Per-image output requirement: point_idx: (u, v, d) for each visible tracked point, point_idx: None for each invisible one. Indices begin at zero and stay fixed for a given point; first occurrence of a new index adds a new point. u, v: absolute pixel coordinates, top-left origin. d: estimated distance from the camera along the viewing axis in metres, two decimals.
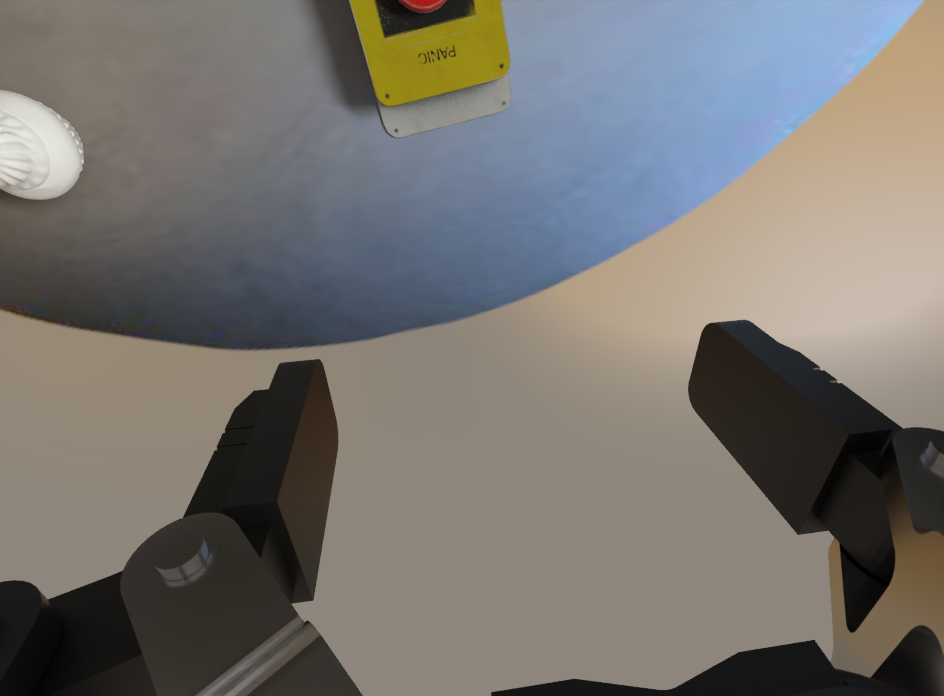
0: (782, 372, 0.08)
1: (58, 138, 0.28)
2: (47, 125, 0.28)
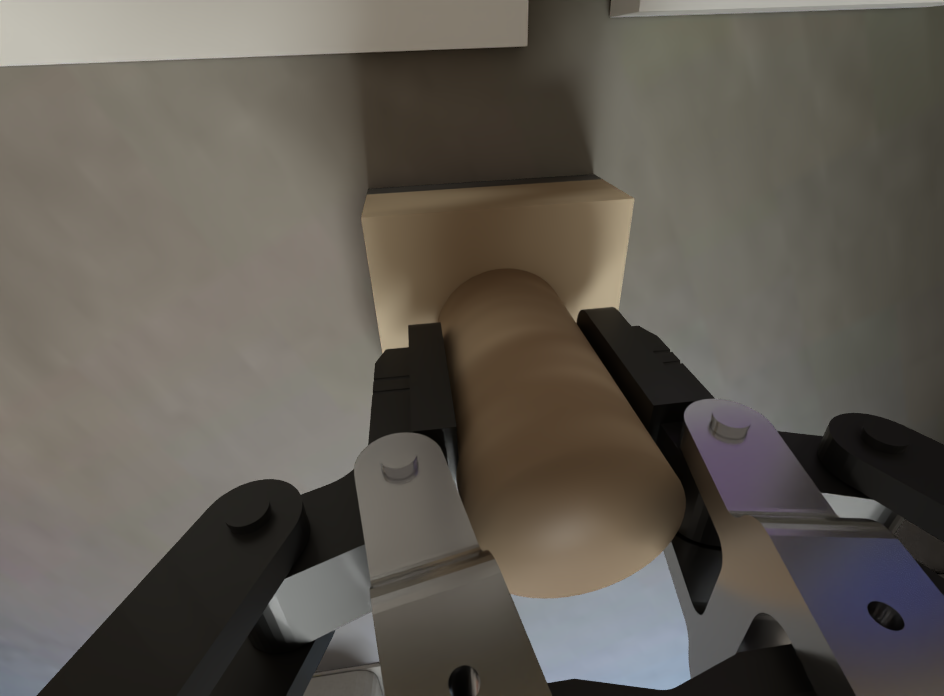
0: (622, 353, 0.09)
1: None
2: None
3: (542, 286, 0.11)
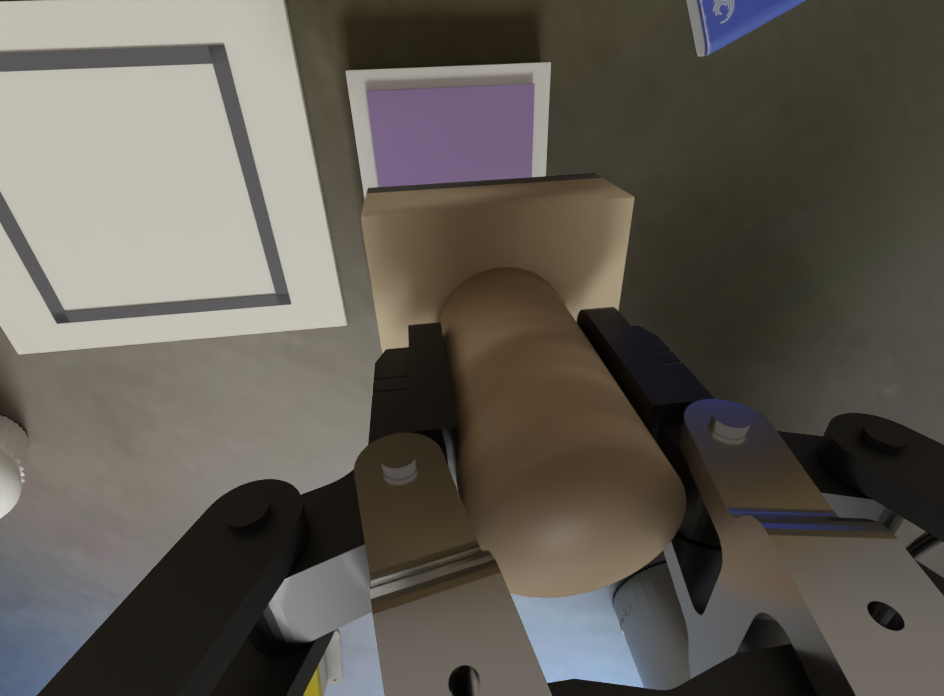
0: (622, 352, 0.09)
1: None
2: None
3: (542, 285, 0.11)
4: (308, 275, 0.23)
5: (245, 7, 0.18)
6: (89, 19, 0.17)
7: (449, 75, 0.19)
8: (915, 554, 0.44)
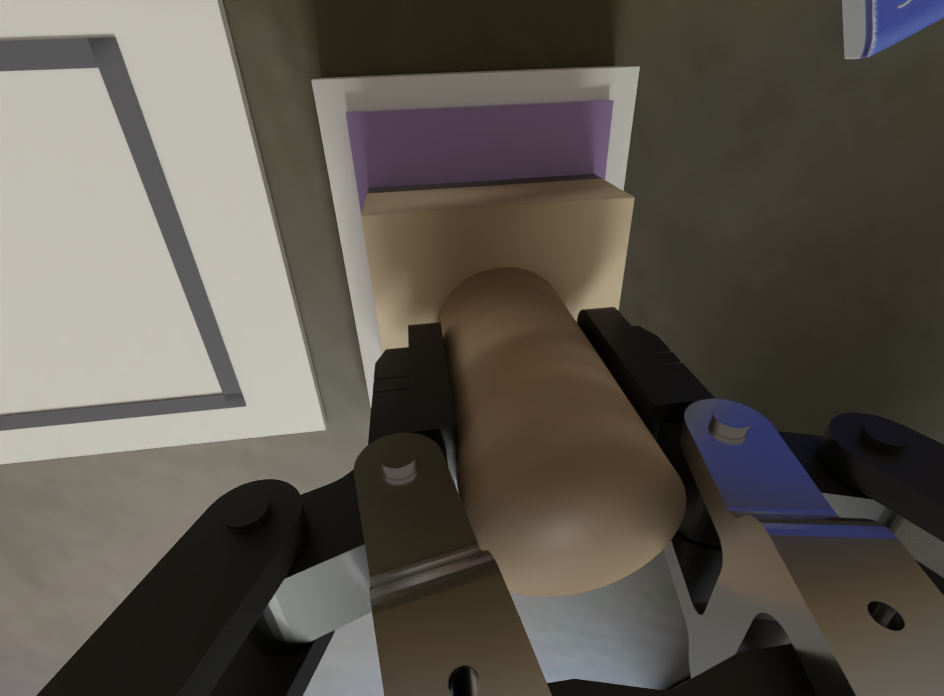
0: (622, 353, 0.09)
1: None
2: None
3: (542, 285, 0.11)
4: (268, 369, 0.16)
5: None
6: None
7: (479, 87, 0.12)
8: None
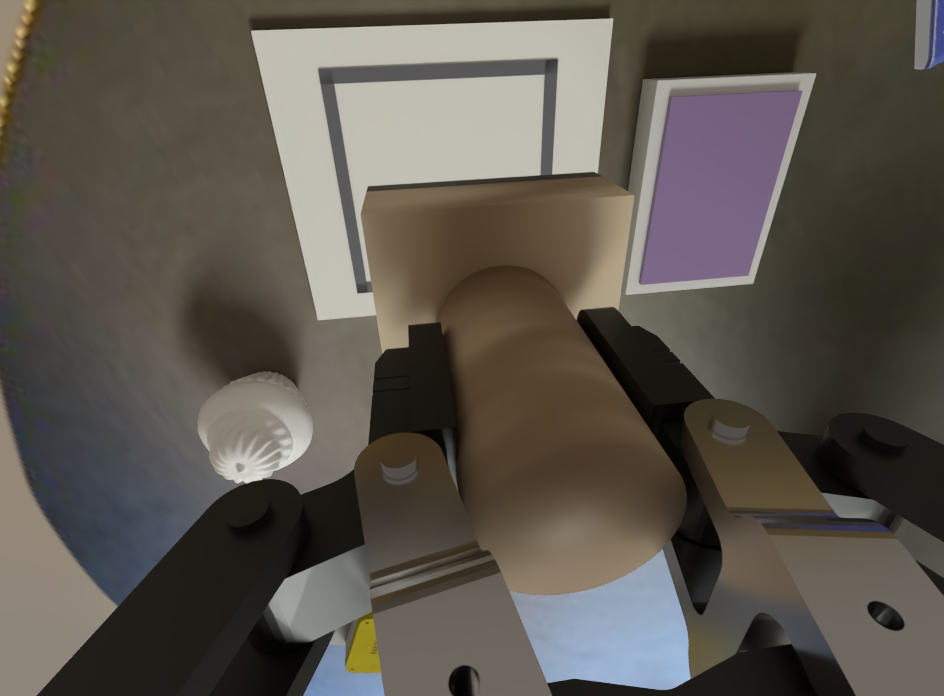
0: (622, 353, 0.09)
1: None
2: (285, 465, 0.28)
3: (542, 283, 0.11)
4: None
5: (582, 29, 0.22)
6: (462, 39, 0.21)
7: (735, 84, 0.23)
8: None
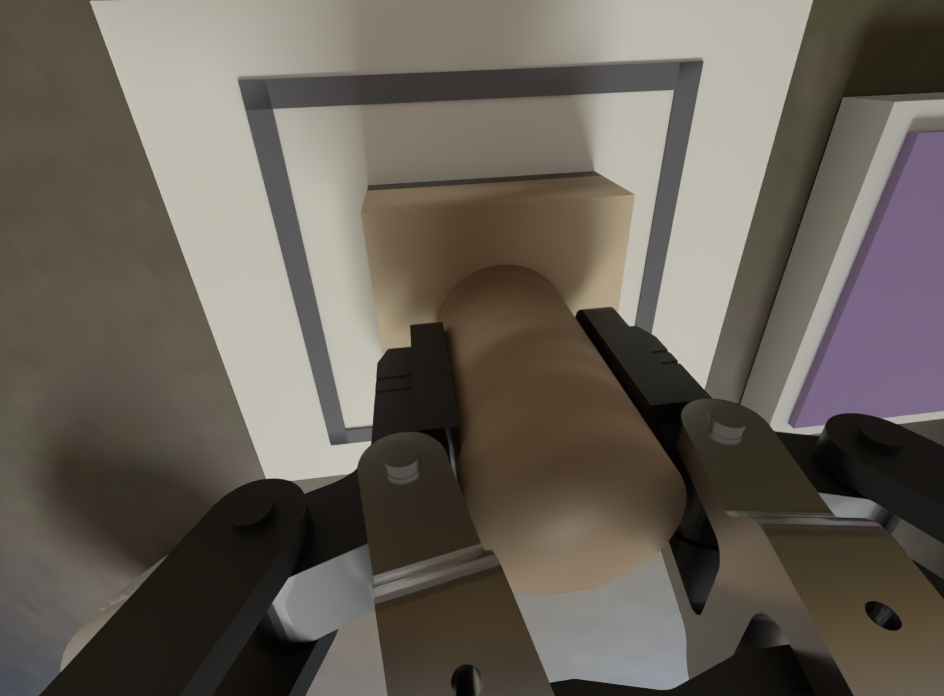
0: (620, 353, 0.09)
1: None
2: None
3: (542, 282, 0.11)
4: None
5: (756, 3, 0.11)
6: (525, 21, 0.11)
7: None
8: None
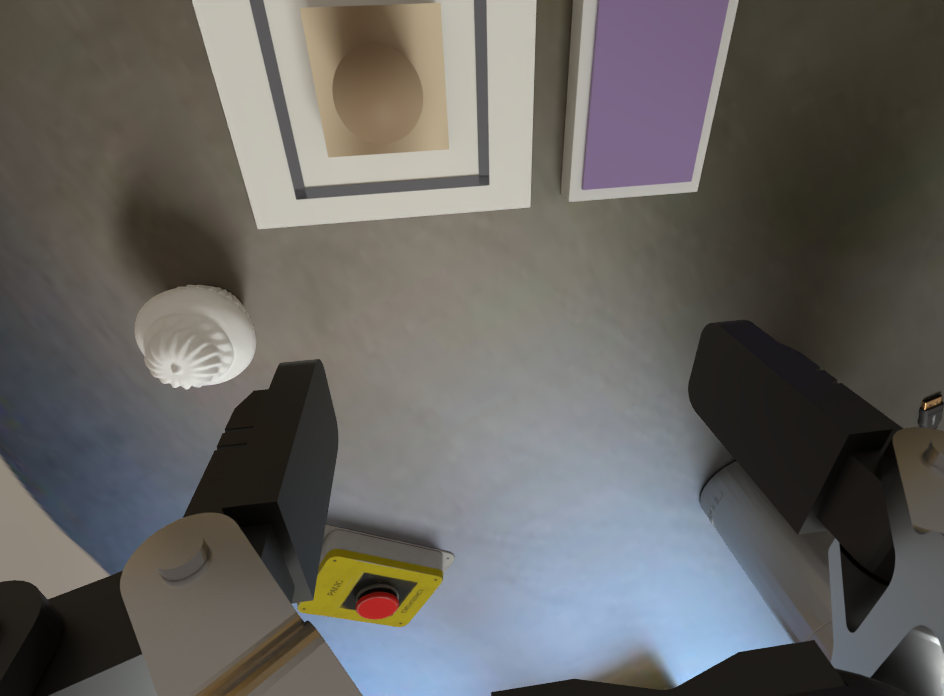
0: (782, 372, 0.08)
1: (218, 383, 0.28)
2: (229, 378, 0.28)
3: None
4: (508, 157, 0.27)
5: None
6: None
7: None
8: None
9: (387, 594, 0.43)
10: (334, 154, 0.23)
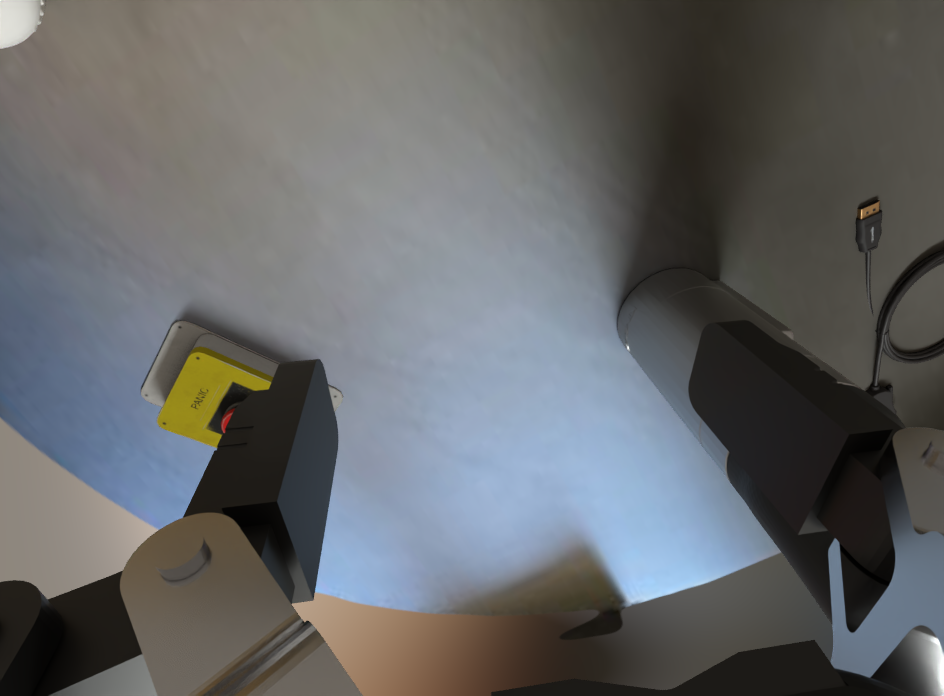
0: (782, 372, 0.08)
1: None
2: (7, 35, 0.24)
3: None
4: None
5: None
6: None
7: None
8: (906, 282, 0.44)
9: None
10: None
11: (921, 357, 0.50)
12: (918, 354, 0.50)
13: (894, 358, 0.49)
